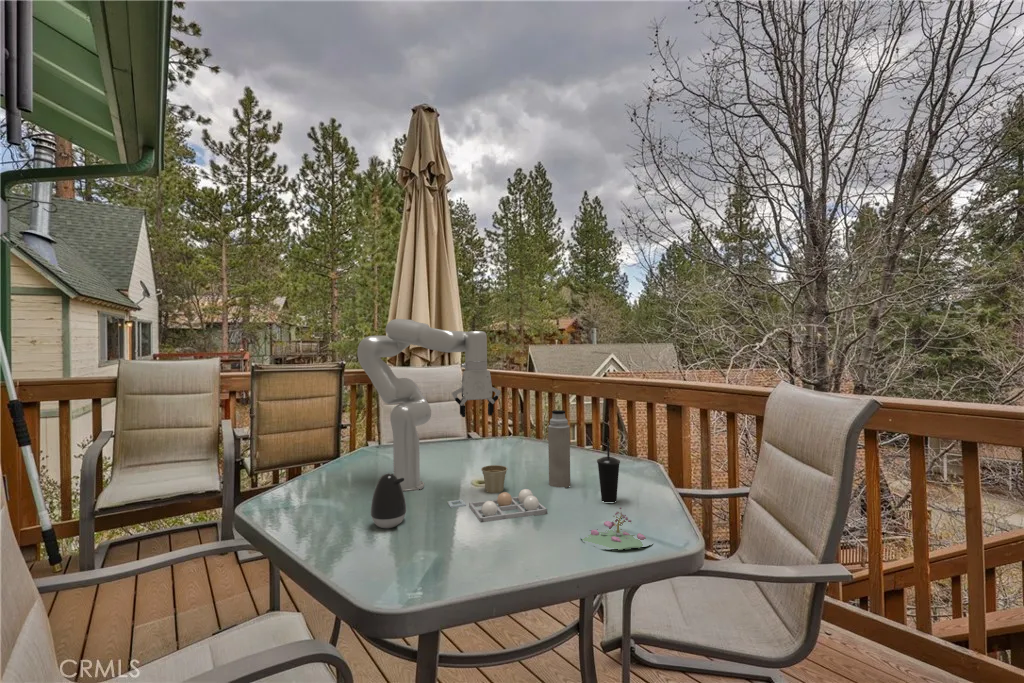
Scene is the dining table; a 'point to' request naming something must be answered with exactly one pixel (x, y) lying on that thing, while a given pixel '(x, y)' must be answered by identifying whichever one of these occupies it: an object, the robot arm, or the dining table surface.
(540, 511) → the carton
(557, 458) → the thermos bottle
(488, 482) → the flower pot
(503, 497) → the brown egg
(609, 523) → the plant
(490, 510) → the white egg
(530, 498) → the white egg
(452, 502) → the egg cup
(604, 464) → the drinking cup
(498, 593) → the dining table surface
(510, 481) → the dining table surface
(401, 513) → the penguin figurine
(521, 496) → the white egg
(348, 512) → the dining table surface
